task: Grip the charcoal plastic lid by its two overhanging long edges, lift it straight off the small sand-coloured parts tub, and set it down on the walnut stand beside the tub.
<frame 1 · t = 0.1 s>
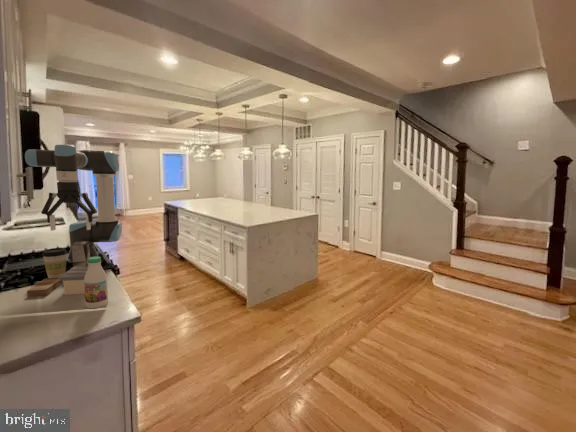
hand: (71, 229, 133), 28 cm above the counter, tool pointing down, fingers open, 13 cm apart
coffee cup: (57, 280, 148), on the counter
part a: (85, 284, 142), point 1 cm above the counter, touching tub
stand: (46, 291, 135), on the counter
coffee box: (82, 273, 159), on the counter
part b: (78, 290, 134), point 1 cm above the counter, touching tub
lid: (81, 274, 137), point 7 cm above the counter, touching tub
tub: (82, 288, 138), on the counter
milk bottle: (97, 305, 122), on the counter
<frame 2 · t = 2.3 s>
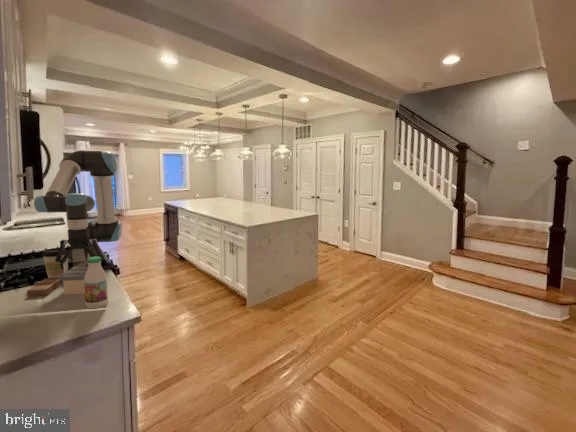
hand: (81, 275, 137), 6 cm above the counter, tool pointing down, fingers closed on lid, 11 cm apart
lid: (81, 274, 137), point 7 cm above the counter, touching gripper, tub
everything else where it was.
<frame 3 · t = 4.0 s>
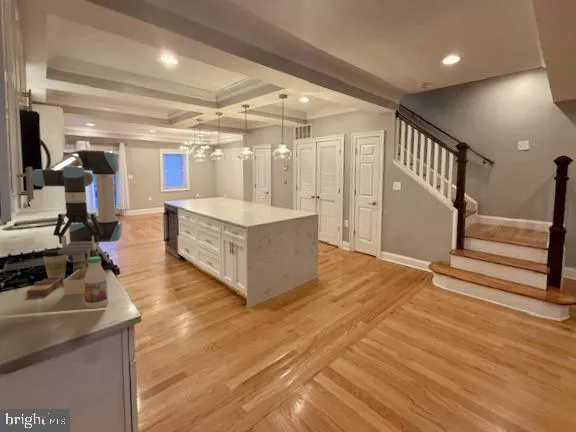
hand: (79, 250, 136), 18 cm above the counter, tool pointing down, fingers closed on lid, 11 cm apart
lid: (79, 248, 136), point 19 cm above the counter, touching gripper
everything else where it was.
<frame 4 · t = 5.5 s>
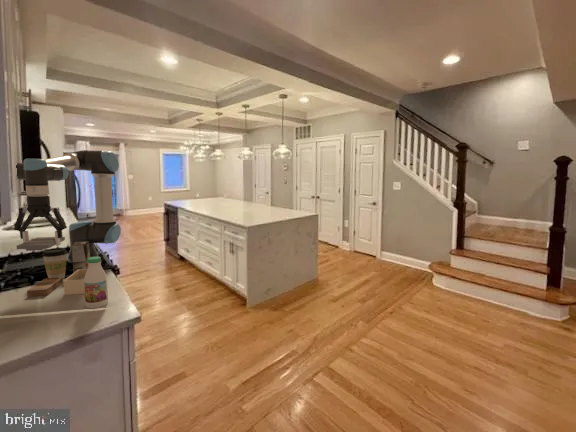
hand: (42, 245, 132), 21 cm above the counter, tool pointing down, fingers closed on lid, 11 cm apart
lid: (42, 244, 131), point 21 cm above the counter, touching gripper
everything else where it was.
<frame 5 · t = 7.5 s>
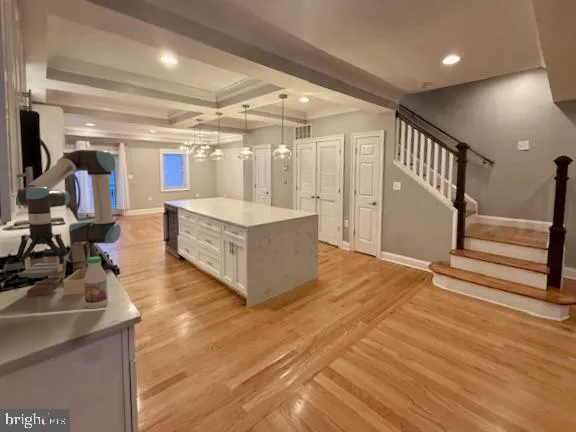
hand: (44, 271, 133), 9 cm above the counter, tool pointing down, fingers closed on lid, 11 cm apart
lid: (44, 270, 133), point 10 cm above the counter, touching gripper
everything else where it was.
when the fingers open (5 cm above the counter, at t = 8.9 s): lid drops 1 cm, resting on stand.
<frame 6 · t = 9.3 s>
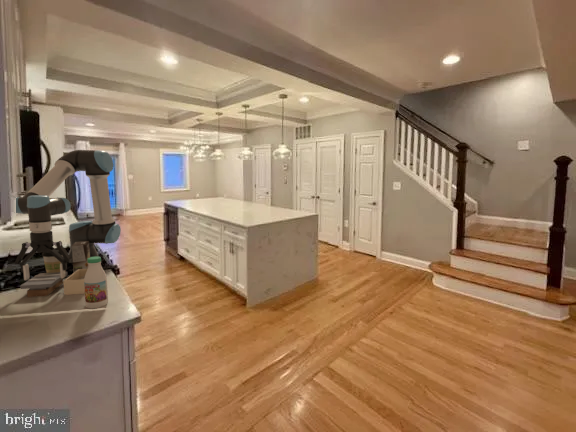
hand: (45, 278, 134), 6 cm above the counter, tool pointing down, fingers open, 13 cm apart
lid: (45, 281, 134), point 4 cm above the counter, touching stand
everything else where it was.
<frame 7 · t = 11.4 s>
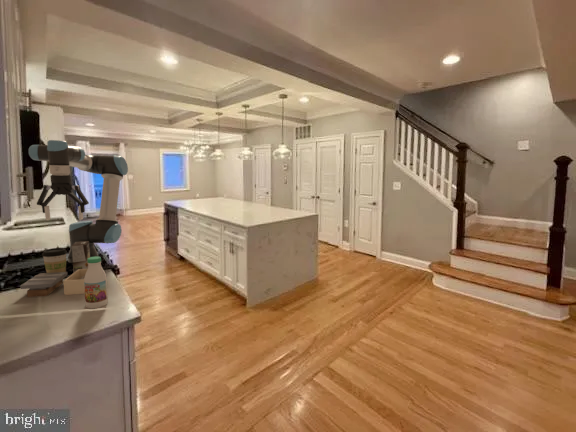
hand: (65, 219, 143), 30 cm above the counter, tool pointing down, fingers open, 13 cm apart
nothing on the counter moved.
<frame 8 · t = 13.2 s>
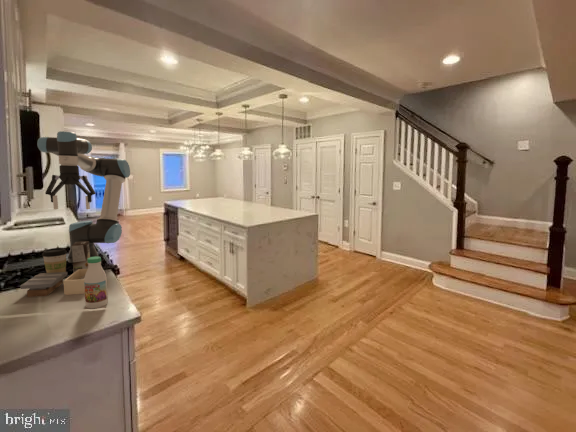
hand: (72, 209, 147), 35 cm above the counter, tool pointing down, fingers open, 13 cm apart
nothing on the counter moved.
at the end: lid inside the target area on the stand (0.0 cm from its centre), point 4.5 cm above the stand's base; lid touching stand; lid tilted 0° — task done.
